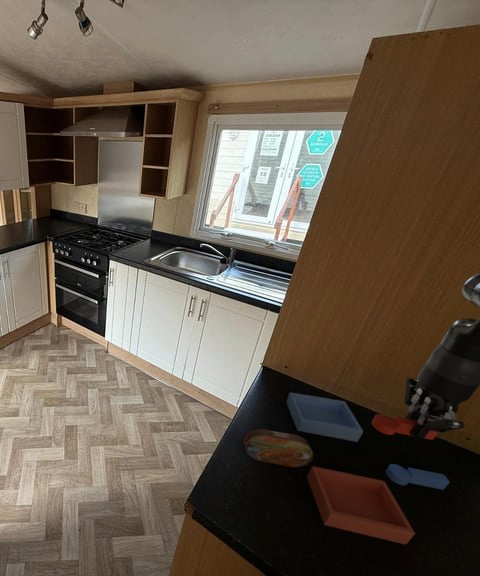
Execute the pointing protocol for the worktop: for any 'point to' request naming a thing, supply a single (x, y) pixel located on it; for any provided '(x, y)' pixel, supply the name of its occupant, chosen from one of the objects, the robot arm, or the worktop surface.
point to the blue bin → (323, 417)
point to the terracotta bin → (358, 505)
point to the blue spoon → (416, 477)
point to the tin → (278, 448)
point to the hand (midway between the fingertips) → (412, 431)
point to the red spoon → (397, 425)
